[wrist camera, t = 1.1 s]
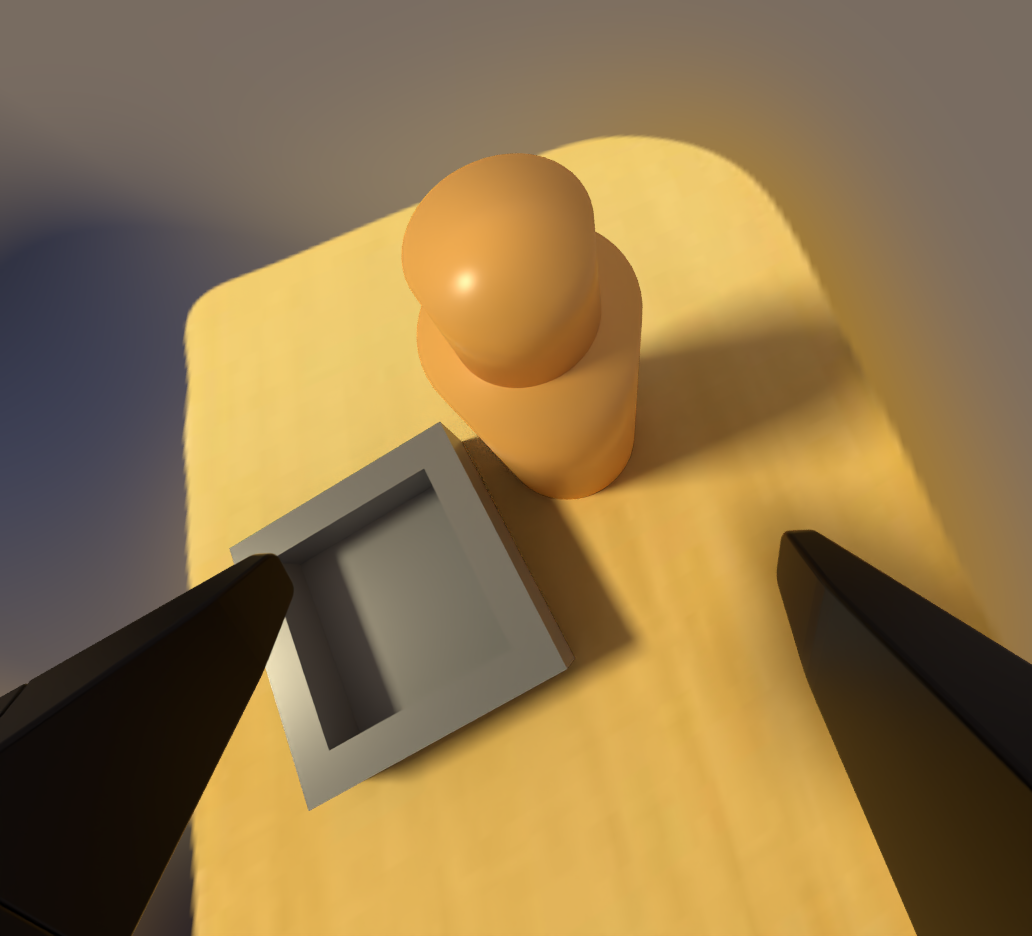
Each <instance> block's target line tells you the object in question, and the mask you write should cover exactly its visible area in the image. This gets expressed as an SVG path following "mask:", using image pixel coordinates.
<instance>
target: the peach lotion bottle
mask: <svg viewBox="0 0 1032 936" xmlns="http://www.w3.org/2000/svg"><path fill="white" fill-rule="evenodd" d="M402 267H403V272H404V275H405V279H406V281H407V283H408V286H409V288H410V289H411V291H412V292H413V294H414V296H415V297H416V298H417V300H418V301H419V303H420V304H421V305H422V306H421V310H420V313H419V318H418V324H417V347H418V354H419V358H420V361H421V365H422V367H423V370H424V372H425V374H426V377H427V378H428V380H429V381H430V383H431V385H432V386H433V388H434V389H435V390H436V391H437V392H438V394H439V395H440V396H441V397H442V398H443V399H444V400H445V401H446V402H447V403H448V404H449V406H450V407H451V408H452V409H453V410H454V411H455V412H456V413H457V414H458V415H459V416H460V417H461V418H462V419H463V420H464V421H465V422H466V423H467V425H468V426H469V427H470V428H471V429H472V430H473V431H474V432H475V433H476V434H477V435H478V436H479V437H480V438H481V439H482V440H483V441H484V442H485V443H486V445H487V446H488V447H489V448H490V449H491V450H492V451H493V452H494V453H495V454H496V455H497V456H498V457H499V458H500V459H501V460H502V461H503V462H504V464H505V465H506V466H507V467H508V468H509V469H510V470H511V471H512V472H513V473H514V474H515V475H516V476H517V477H518V478H519V479H520V480H521V481H522V482H523V483H524V484H525V485H526V486H527V487H529V488H530V489H532V490H533V491H535V492H537V493H539V494H541V495H544V496H547V497H550V498H555V499H566V500H568V499H578V498H583V497H586V496H589V495H592V494H595V493H597V492H599V491H601V490H602V489H604V488H605V487H607V486H608V485H609V484H611V483H612V482H613V481H614V480H615V479H616V478H617V477H618V476H619V475H620V474H621V472H622V471H623V469H624V468H625V466H626V465H627V463H628V460H629V458H630V456H631V453H632V450H633V444H634V434H635V418H636V403H637V388H638V373H639V357H640V342H641V327H642V297H641V291H640V287H639V283H638V280H637V277H636V275H635V273H634V271H633V268H632V266H631V265H630V263H629V262H628V260H627V259H626V257H625V256H624V255H623V254H622V252H621V251H620V250H619V249H618V248H617V247H616V246H615V245H614V244H613V243H611V242H610V241H609V240H608V239H606V238H605V237H604V236H602V235H600V234H599V233H597V232H595V224H594V213H593V207H592V204H591V200H590V198H589V195H588V193H587V191H586V189H585V188H584V186H583V185H582V183H581V182H580V180H579V179H578V178H577V177H576V176H575V175H574V174H573V173H572V172H571V171H569V170H568V169H567V168H565V167H564V166H562V165H560V164H559V163H557V162H555V161H552V160H550V159H547V158H545V157H541V156H536V155H531V154H502V155H496V156H492V157H487V158H484V159H481V160H478V161H475V162H472V163H470V164H468V165H466V166H464V167H462V168H460V169H458V170H456V171H455V172H453V173H451V174H450V175H449V176H447V177H446V178H444V179H443V180H442V181H441V182H439V183H438V184H437V185H436V186H435V187H434V188H433V189H432V190H431V191H430V192H429V193H428V194H427V195H426V196H425V197H424V199H423V200H422V201H421V203H420V204H419V205H418V207H417V208H416V210H415V212H414V213H413V215H412V217H411V219H410V221H409V223H408V226H407V228H406V232H405V235H404V239H403V244H402Z"/></svg>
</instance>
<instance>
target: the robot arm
mask: <svg viewBox="0 0 1032 936" xmlns="http://www.w3.org/2000/svg"><path fill="white" fill-rule="evenodd" d="M777 582H778V586H779V590H780V593H781V596H782V600H783V603H784V606H785V610H786V613H787V616H788V620H789V623H790V626H791V630H792V633H793V636H794V640H795V643H796V646H797V650H798V653H799V656H800V660H801V663H802V666H803V669H804V672H805V675H806V678H807V681H808V683H809V686H810V688H811V691H812V693H813V696H814V698H815V700H816V703H817V705H818V707H819V710H820V712H821V714H822V716H823V719H824V721H825V723H826V726H827V728H828V730H829V733H830V735H831V737H832V740H833V742H834V744H835V747H836V749H837V751H838V754H839V756H840V758H841V760H842V763H843V765H844V767H845V770H846V772H847V774H848V777H849V779H850V781H851V784H852V786H853V788H854V791H855V793H856V795H857V798H858V800H859V802H860V805H861V807H862V809H863V811H864V814H865V816H866V818H867V821H868V823H869V825H870V828H871V830H872V832H873V835H874V837H875V839H876V842H877V844H878V846H879V849H880V851H881V853H882V855H883V858H884V860H885V862H886V865H887V867H888V869H889V872H890V874H891V876H892V879H893V881H894V883H895V886H896V888H897V890H898V893H899V895H900V897H901V899H902V902H903V904H904V906H905V909H906V911H907V913H908V916H909V918H910V920H911V923H912V925H913V927H914V930H915V932H916V934H917V936H1032V664H1030V663H1028V662H1027V661H1025V660H1023V659H1022V658H1020V657H1019V656H1017V655H1015V654H1014V653H1012V652H1011V651H1009V650H1007V649H1006V648H1004V647H1003V646H1001V645H999V644H998V643H996V642H994V641H993V640H991V639H990V638H988V637H986V636H985V635H983V634H982V633H980V632H978V631H977V630H975V629H973V628H972V627H970V626H969V625H967V624H965V623H964V622H962V621H961V620H959V619H957V618H956V617H954V616H952V615H951V614H949V613H948V612H946V611H944V610H943V609H941V608H940V607H938V606H936V605H935V604H933V603H931V602H930V601H928V600H927V599H925V598H923V597H922V596H920V595H918V594H917V593H915V592H914V591H912V590H910V589H909V588H907V587H906V586H904V585H902V584H901V583H899V582H897V581H896V580H894V579H893V578H891V577H889V576H888V575H886V574H885V573H883V572H881V571H880V570H878V569H876V568H875V567H873V566H872V565H870V564H868V563H867V562H865V561H864V560H862V559H860V558H859V557H857V556H855V555H854V554H852V553H851V552H849V551H847V550H846V549H844V548H843V547H841V546H839V545H838V544H836V543H834V542H833V541H831V540H830V539H828V538H826V537H825V536H823V535H822V534H820V533H818V532H816V531H814V530H791V531H786V532H785V533H783V535H782V537H781V543H780V550H779V557H778V565H777ZM293 595H294V585H293V582H292V580H291V578H290V577H289V575H288V573H287V571H286V569H285V567H284V566H283V564H282V562H281V560H280V558H279V557H278V556H277V555H275V554H273V553H260V554H253V555H251V556H249V557H247V558H245V559H243V560H242V561H240V562H238V563H236V564H235V565H233V566H231V567H229V568H228V569H226V570H224V571H222V572H220V573H219V574H217V575H215V576H213V577H212V578H210V579H208V580H206V581H205V582H203V583H201V584H199V585H198V586H196V587H194V588H192V589H191V590H189V591H187V592H185V593H184V594H182V595H180V596H178V597H176V598H175V599H173V600H171V601H169V602H168V603H166V604H164V605H162V606H161V607H159V608H157V609H155V610H153V611H152V612H150V613H148V614H146V615H145V616H143V617H141V618H140V619H138V620H136V621H134V622H132V623H131V624H129V625H127V626H125V627H124V628H122V629H120V630H118V631H116V632H115V633H113V634H111V635H109V636H108V637H106V638H104V639H102V640H101V641H99V642H97V643H95V644H94V645H92V646H90V647H88V648H87V649H85V650H83V651H81V652H79V653H78V654H76V655H74V656H72V657H71V658H69V659H67V660H65V661H64V662H62V663H60V664H58V665H57V666H55V667H53V668H51V669H50V670H48V671H46V672H44V673H43V674H41V675H39V676H37V677H36V678H34V679H32V680H31V681H30V682H29V683H28V684H23V685H21V686H19V687H18V688H16V689H14V690H12V691H11V692H9V693H7V694H5V695H4V696H2V697H0V936H132V935H133V933H134V931H135V929H136V926H137V925H138V922H139V920H140V919H141V917H142V915H143V913H144V911H145V909H146V906H147V905H148V903H149V901H150V899H151V897H152V894H153V893H154V890H155V888H156V886H157V885H158V882H159V881H160V879H161V876H162V874H163V872H164V870H165V868H166V866H167V864H168V862H169V860H170V858H171V856H172V854H173V852H174V850H175V848H176V846H177V844H178V842H179V840H180V838H181V836H182V834H183V832H184V830H185V828H186V826H187V824H188V822H189V820H190V818H191V816H192V814H193V812H194V810H195V808H196V806H197V804H198V802H199V800H200V798H201V796H202V794H203V792H204V790H205V788H206V786H207V784H208V782H209V780H210V778H211V776H212V774H213V772H214V770H215V768H216V766H217V764H218V762H219V760H220V758H221V756H222V754H223V752H224V750H225V748H226V746H227V744H228V742H229V740H230V738H231V736H232V734H233V732H234V730H235V728H236V726H237V724H238V722H239V720H240V718H241V716H242V714H243V712H244V710H245V708H246V706H247V704H248V702H249V700H250V698H251V696H252V694H253V692H254V690H255V688H256V686H257V684H258V682H259V680H260V678H261V676H262V673H263V671H264V669H265V667H266V664H267V662H268V660H269V657H270V655H271V652H272V650H273V647H274V644H275V642H276V639H277V637H278V634H279V632H280V629H281V627H282V624H283V621H284V619H285V616H286V614H287V611H288V609H289V606H290V604H291V601H292V598H293Z"/></svg>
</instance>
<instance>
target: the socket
mask: <svg viewBox="0 0 1032 936" xmlns="http://www.w3.org/2000/svg"><path fill="white" fill-rule="evenodd" d="M230 552H231V555H232V558H233V562H234V565H235V564H236V563H238V562H240V561H242V560H243V559H245V558H247V557H249V556H251V555H253V554H260V553H273V554H275V555H277V556H278V557H279V558H280V560H281V562H282V564H283V566H284V567H285V569H286V571H287V573H288V575H289V577H290V578H291V580H292V582H293V585H294V595H293V598H292V601H291V604H290V606H289V609H288V611H287V614H286V616H285V619H284V621H283V624H282V627H281V629H280V632H279V634H278V637H277V639H276V642H275V644H274V647H273V650H272V652H271V655H270V657H269V660H268V662H267V664H266V667H265V668H266V671H267V674H268V678H269V681H270V684H271V688H272V691H273V694H274V698H275V701H276V704H277V707H278V711H279V714H280V717H281V721H282V724H283V727H284V731H285V734H286V737H287V741H288V744H289V747H290V751H291V754H292V757H293V761H294V764H295V767H296V770H297V774H298V777H299V780H300V784H301V787H302V790H303V794H304V797H305V800H306V804H307V807H308V810H309V811H310V810H312V809H313V808H315V807H317V806H319V805H321V804H323V803H324V802H326V801H328V800H330V799H332V798H334V797H335V796H337V795H339V794H341V793H343V792H344V791H346V790H348V789H350V788H352V787H354V786H355V785H357V784H359V783H361V782H363V781H364V780H366V779H368V778H370V777H372V776H374V775H375V774H377V773H379V772H381V771H383V770H384V769H386V768H388V767H390V766H392V765H394V764H395V763H397V762H399V761H401V760H403V759H404V758H406V757H408V756H410V755H412V754H414V753H415V752H417V751H419V750H421V749H423V748H424V747H426V746H428V745H430V744H432V743H434V742H435V741H437V740H439V739H441V738H443V737H445V736H446V735H448V734H450V733H452V732H454V731H455V730H457V729H459V728H461V727H463V726H465V725H466V724H468V723H470V722H472V721H474V720H475V719H477V718H479V717H481V716H483V715H485V714H486V713H488V712H490V711H492V710H494V709H495V708H497V707H499V706H501V705H503V704H505V703H506V702H508V701H510V700H512V699H514V698H515V697H517V696H519V695H521V694H523V693H525V692H526V691H528V690H530V689H532V688H534V687H536V686H537V685H539V684H541V683H543V682H545V681H546V680H548V679H550V678H552V677H554V676H556V675H557V674H559V673H561V672H563V671H565V670H566V669H568V667H569V666H570V664H571V663H572V662H573V660H574V659H575V657H574V655H573V654H572V652H571V650H570V648H569V646H568V644H567V642H566V640H565V638H564V636H563V634H562V633H561V631H560V629H559V627H558V625H557V623H556V621H555V619H554V617H553V615H552V613H551V612H550V610H549V608H548V606H547V604H546V602H545V600H544V598H543V596H542V594H541V592H540V591H539V589H538V587H537V585H536V583H535V581H534V579H533V577H532V575H531V573H530V571H529V570H528V568H527V566H526V564H525V562H524V560H523V558H522V556H521V554H520V552H519V550H518V549H517V547H516V545H515V543H514V541H513V539H512V537H511V535H510V533H509V531H508V529H507V528H506V526H505V524H504V522H503V520H502V518H501V516H500V514H499V512H498V510H497V508H496V507H495V505H494V503H493V501H492V499H491V497H490V495H489V493H488V491H487V489H486V487H485V486H484V484H483V482H482V480H481V478H480V476H479V474H478V472H477V470H476V468H475V466H474V465H473V463H472V461H471V459H470V457H469V455H468V453H467V451H466V449H465V447H464V445H463V444H462V442H461V440H459V439H458V438H457V437H456V436H455V435H454V434H453V433H452V432H451V431H450V430H448V429H447V428H446V427H445V426H444V425H443V424H442V423H441V422H438V423H437V424H435V425H433V426H432V427H430V428H428V429H427V430H425V431H424V432H422V433H420V434H419V435H417V436H415V437H414V438H412V439H410V440H409V441H407V442H405V443H404V444H402V445H400V446H399V447H397V448H395V449H394V450H392V451H390V452H389V453H387V454H385V455H384V456H382V457H380V458H379V459H377V460H375V461H374V462H372V463H370V464H369V465H367V466H365V467H364V468H362V469H360V470H359V471H357V472H355V473H354V474H352V475H350V476H349V477H347V478H345V479H344V480H342V481H341V482H339V483H337V484H336V485H334V486H332V487H331V488H329V489H327V490H326V491H324V492H322V493H321V494H319V495H317V496H316V497H314V498H312V499H311V500H309V501H307V502H306V503H304V504H302V505H301V506H299V507H297V508H296V509H294V510H292V511H291V512H289V513H287V514H286V515H284V516H282V517H281V518H279V519H277V520H276V521H274V522H272V523H271V524H269V525H267V526H266V527H264V528H262V529H261V530H259V531H258V532H256V533H254V534H253V535H251V536H249V537H248V538H246V539H244V540H243V541H241V542H239V543H238V544H236V545H234V546H233V547H231V548H230Z"/></svg>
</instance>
